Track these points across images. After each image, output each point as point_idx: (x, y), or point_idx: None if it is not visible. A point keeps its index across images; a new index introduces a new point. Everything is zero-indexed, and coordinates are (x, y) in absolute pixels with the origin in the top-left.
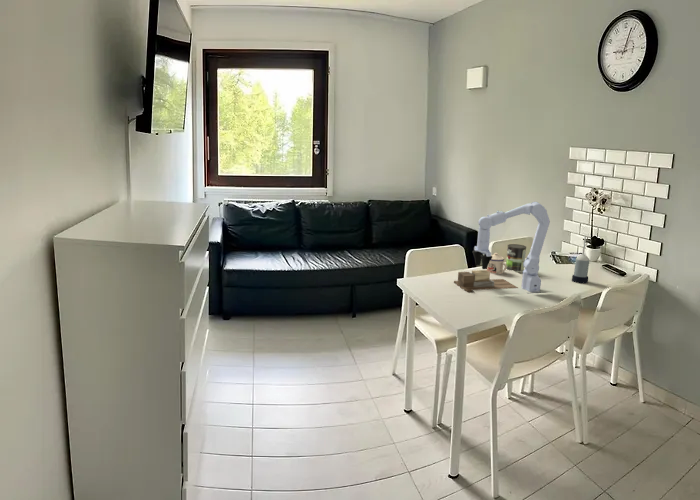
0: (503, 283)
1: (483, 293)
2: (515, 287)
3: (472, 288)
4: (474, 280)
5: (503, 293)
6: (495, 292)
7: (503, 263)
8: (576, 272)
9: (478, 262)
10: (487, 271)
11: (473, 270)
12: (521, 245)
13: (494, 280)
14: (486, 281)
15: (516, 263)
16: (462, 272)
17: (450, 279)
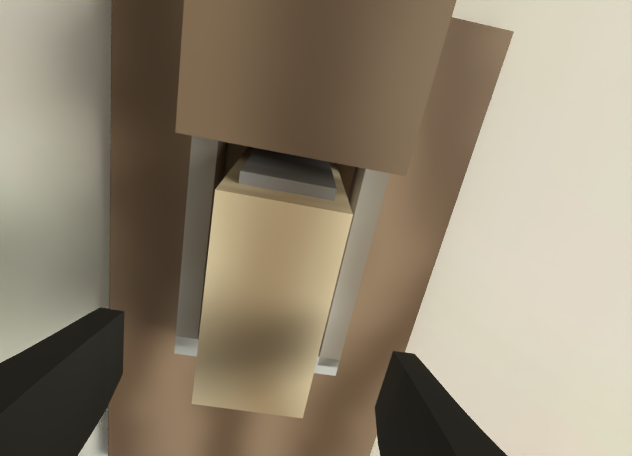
0: (247, 435)
1: (49, 117)
2: (124, 452)
3: (163, 61)
4: (245, 159)
5: (33, 299)
6: (70, 252)
7: None
8: None
9: (393, 428)
10: (232, 392)
11: (346, 240)
12: None
13: (347, 421)
14: (197, 284)
15: None
16: (406, 38)
17: (620, 80)
